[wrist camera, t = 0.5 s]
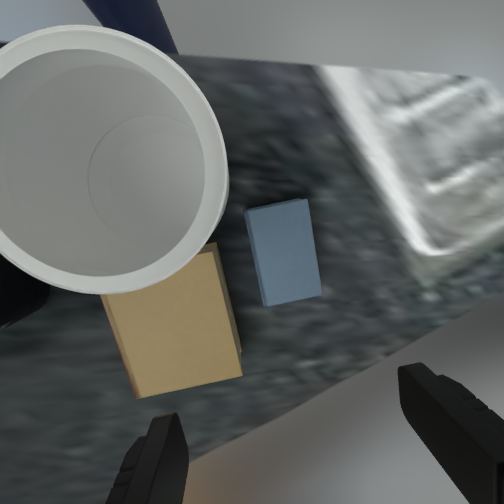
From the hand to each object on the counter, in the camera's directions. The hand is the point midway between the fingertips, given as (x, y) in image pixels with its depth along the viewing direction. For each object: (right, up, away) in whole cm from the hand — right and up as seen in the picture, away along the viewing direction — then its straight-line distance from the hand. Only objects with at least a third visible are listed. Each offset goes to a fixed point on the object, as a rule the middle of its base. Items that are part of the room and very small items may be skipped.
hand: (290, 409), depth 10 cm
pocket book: (+1, +6, +18) cm, 19 cm away
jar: (-9, +12, +16) cm, 22 cm away
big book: (-9, 0, +18) cm, 20 cm away
